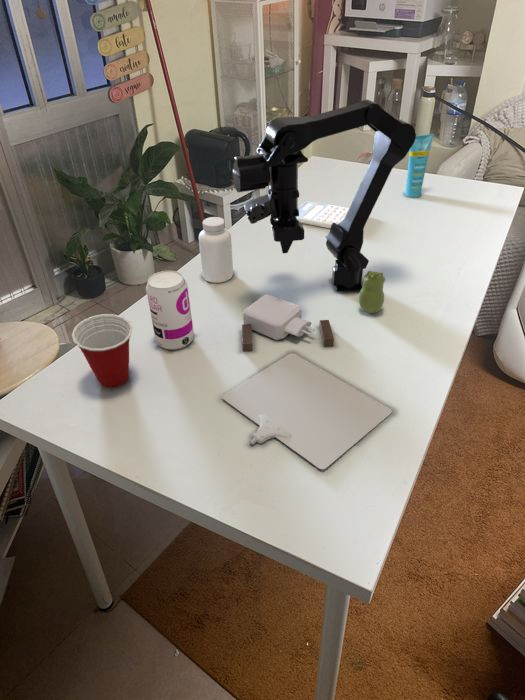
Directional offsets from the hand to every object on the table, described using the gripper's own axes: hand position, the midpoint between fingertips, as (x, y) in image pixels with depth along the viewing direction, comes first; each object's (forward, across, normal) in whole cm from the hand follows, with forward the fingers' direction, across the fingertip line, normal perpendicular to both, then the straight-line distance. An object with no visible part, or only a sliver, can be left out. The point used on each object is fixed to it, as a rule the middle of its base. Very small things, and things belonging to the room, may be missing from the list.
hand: (284, 252), depth 120 cm
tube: (+12, -58, +49) cm, 77 cm away
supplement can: (+12, +14, -26) cm, 32 cm away
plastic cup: (+12, +26, -37) cm, 47 cm away
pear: (+12, +8, +19) cm, 24 cm away
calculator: (+12, -44, +18) cm, 49 cm away
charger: (+12, +13, -2) cm, 18 cm away
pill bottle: (+12, -12, -16) cm, 24 cm away
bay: (+12, +17, -2) cm, 21 cm away
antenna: (+12, +39, -2) cm, 41 cm away
